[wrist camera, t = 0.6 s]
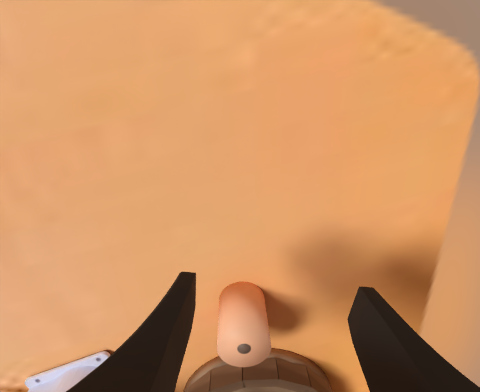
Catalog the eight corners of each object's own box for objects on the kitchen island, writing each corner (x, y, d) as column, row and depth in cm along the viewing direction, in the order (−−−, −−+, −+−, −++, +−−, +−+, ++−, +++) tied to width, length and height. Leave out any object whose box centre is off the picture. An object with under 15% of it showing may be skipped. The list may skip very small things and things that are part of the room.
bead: (230, 322, 27) (230, 373, 23) (212, 291, 26) (207, 339, 21) (270, 308, 27) (279, 358, 22) (254, 275, 25) (259, 322, 21)
